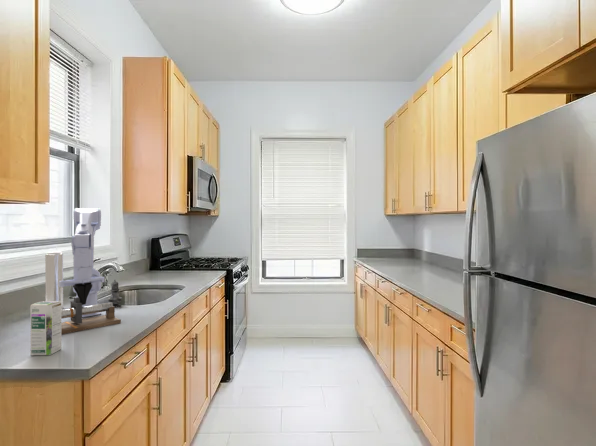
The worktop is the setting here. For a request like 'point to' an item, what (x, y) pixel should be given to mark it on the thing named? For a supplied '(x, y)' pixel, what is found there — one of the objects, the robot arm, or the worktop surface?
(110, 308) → the pipe stand
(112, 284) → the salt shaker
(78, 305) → the grey pipe bracket
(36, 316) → the syrup box
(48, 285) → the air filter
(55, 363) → the worktop surface
